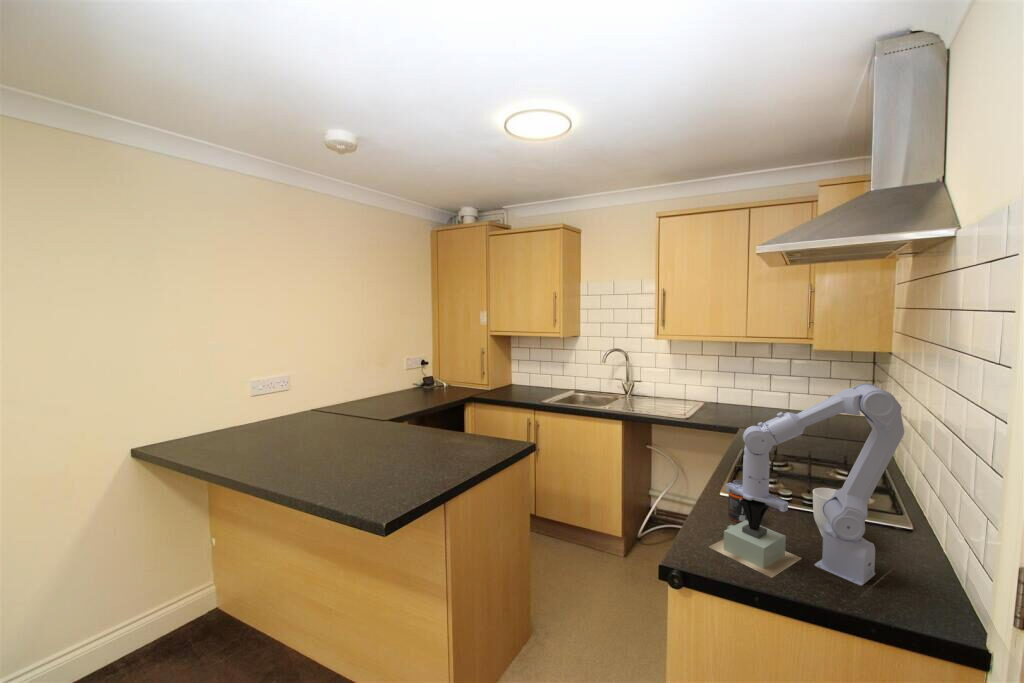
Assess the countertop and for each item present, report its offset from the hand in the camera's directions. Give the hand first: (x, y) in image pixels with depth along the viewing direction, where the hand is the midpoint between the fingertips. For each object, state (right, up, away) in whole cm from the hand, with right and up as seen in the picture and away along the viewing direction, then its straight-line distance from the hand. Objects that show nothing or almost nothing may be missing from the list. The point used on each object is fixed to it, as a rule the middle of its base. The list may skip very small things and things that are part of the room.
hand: (754, 528), depth 112 cm
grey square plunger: (0, -6, 0) cm, 6 cm away
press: (0, -6, 0) cm, 6 cm away
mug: (+26, -6, +9) cm, 28 cm away
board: (0, -7, +1) cm, 7 cm away
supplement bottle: (+5, -5, +18) cm, 20 cm away
